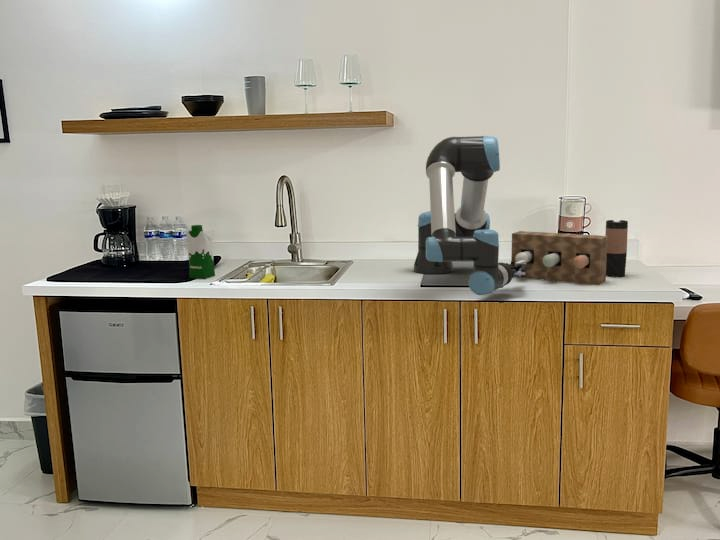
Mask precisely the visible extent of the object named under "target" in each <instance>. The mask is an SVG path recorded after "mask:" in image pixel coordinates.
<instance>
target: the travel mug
mask: <svg viewBox="0 0 720 540" xmlns="http://www.w3.org/2000/svg"><path fill="white" fill-rule="evenodd" d="M628 223H629V221H628V220H624V219H622V220H621V219H620V220H619V221H618V220H617V221H614V219H610V220H609V219H608V220H606V221H605V235H604V236H608V237H607V261H606V277H609V278H610V277H611V278H623V277H626V267H627V255H628V254H627V253H628V233H629V231H628V225H629V224H628Z"/></svg>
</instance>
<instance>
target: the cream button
mask: <svg viewBox="0 0 720 540" xmlns="http://www.w3.org/2000/svg"><path fill="white" fill-rule="evenodd" d="M533 257H534V255H533V253H532V252H531V251H525V252H521V253H518V254H517V255H516V257H515V260H516V262H518V261H521V260H526V263H527V262H530V261H532V260H533Z"/></svg>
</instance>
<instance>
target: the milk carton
mask: <svg viewBox="0 0 720 540" xmlns="http://www.w3.org/2000/svg"><path fill="white" fill-rule="evenodd" d="M214 230H215V229H211V228H210V229H206V228H204V229H203V225H201V224H193V225H191V226H190V230H186V231H185V235H186V239H187V251H188V269H189V271H188V273H189V279H201V280H202V279H203V280H206V279H210V278H212V277H214V276H216V273H215V262H214V261H215V260H214V245H213V244H214V243H213V240H214Z"/></svg>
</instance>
